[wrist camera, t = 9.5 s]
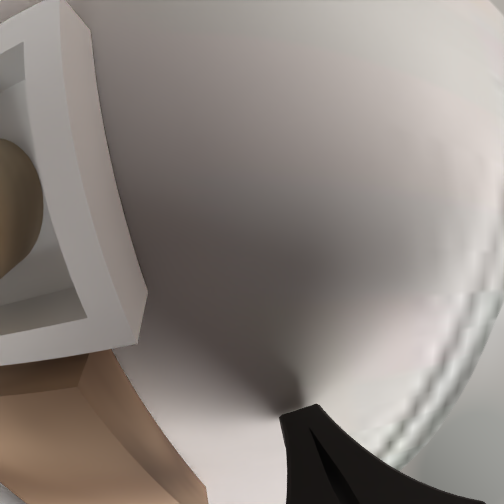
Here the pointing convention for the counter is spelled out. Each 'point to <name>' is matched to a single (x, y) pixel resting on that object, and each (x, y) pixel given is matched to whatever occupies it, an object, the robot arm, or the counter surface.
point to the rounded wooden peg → (18, 206)
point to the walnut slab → (85, 437)
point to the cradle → (64, 198)
